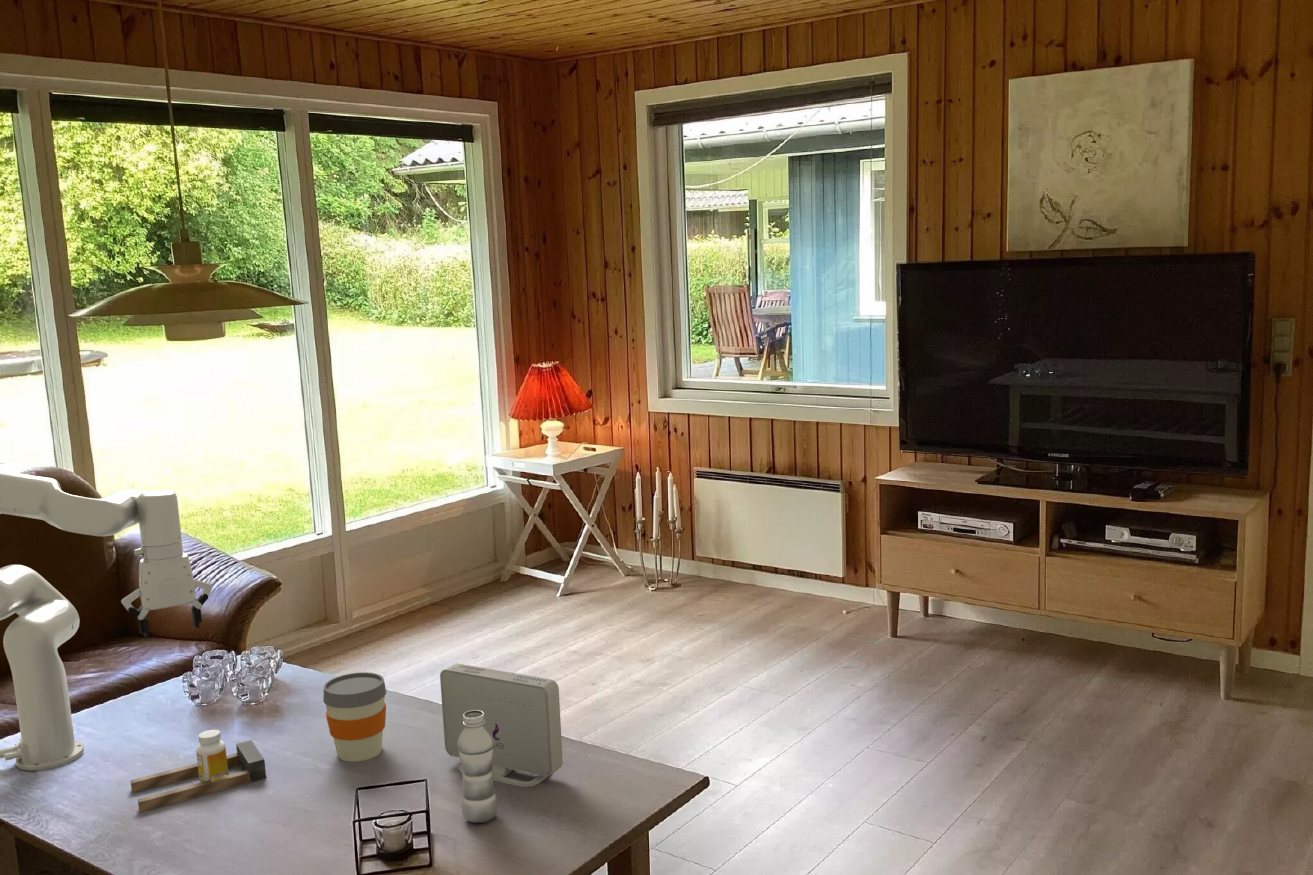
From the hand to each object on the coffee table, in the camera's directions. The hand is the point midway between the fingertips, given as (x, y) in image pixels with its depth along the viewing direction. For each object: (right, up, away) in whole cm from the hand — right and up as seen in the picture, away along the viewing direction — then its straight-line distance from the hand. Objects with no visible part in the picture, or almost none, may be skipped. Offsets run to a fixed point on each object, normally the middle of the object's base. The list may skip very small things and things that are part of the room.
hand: (171, 631), depth 231 cm
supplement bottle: (+13, -28, -9) cm, 32 cm away
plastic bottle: (+68, -29, -29) cm, 79 cm away
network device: (+70, -26, -10) cm, 75 cm away
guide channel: (+10, -28, -11) cm, 32 cm away
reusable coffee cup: (+39, -25, +1) cm, 46 cm away
